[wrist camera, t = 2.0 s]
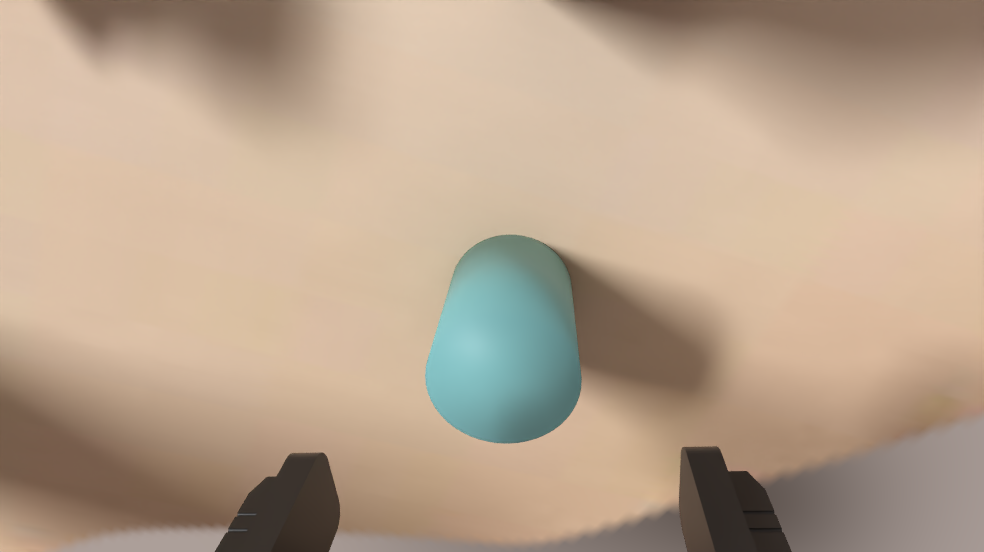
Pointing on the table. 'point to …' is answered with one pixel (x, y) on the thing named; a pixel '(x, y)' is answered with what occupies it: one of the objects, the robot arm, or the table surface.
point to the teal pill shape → (506, 343)
